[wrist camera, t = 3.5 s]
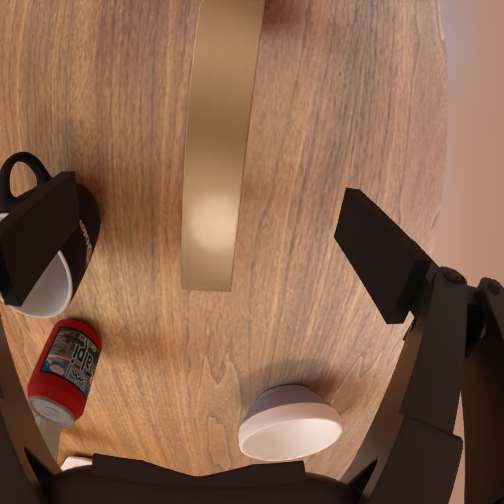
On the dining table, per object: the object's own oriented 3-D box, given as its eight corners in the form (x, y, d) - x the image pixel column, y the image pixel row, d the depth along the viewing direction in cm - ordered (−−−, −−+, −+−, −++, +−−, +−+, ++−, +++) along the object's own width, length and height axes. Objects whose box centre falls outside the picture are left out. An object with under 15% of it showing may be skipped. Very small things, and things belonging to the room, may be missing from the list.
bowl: (294, 426, 49) (301, 463, 43) (219, 412, 45) (220, 455, 38) (350, 381, 44) (364, 422, 37) (269, 360, 39) (277, 410, 32)
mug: (126, 242, 29) (93, 312, 20) (54, 259, 29) (12, 324, 20) (85, 121, 23) (21, 150, 14) (12, 155, 23) (-55, 195, 14)
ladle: (207, -17, 18) (194, -100, 6) (263, -12, 18) (304, -89, 7) (186, 190, 27) (161, 288, 15) (237, 193, 27) (251, 293, 16)
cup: (65, 436, 50) (56, 476, 41) (33, 422, 47) (21, 462, 38) (66, 423, 46) (55, 468, 38) (31, 408, 44) (17, 451, 35)
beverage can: (114, 342, 35) (92, 425, 25) (83, 358, 37) (61, 433, 26) (74, 306, 32) (38, 388, 22) (46, 326, 34) (13, 401, 23)
